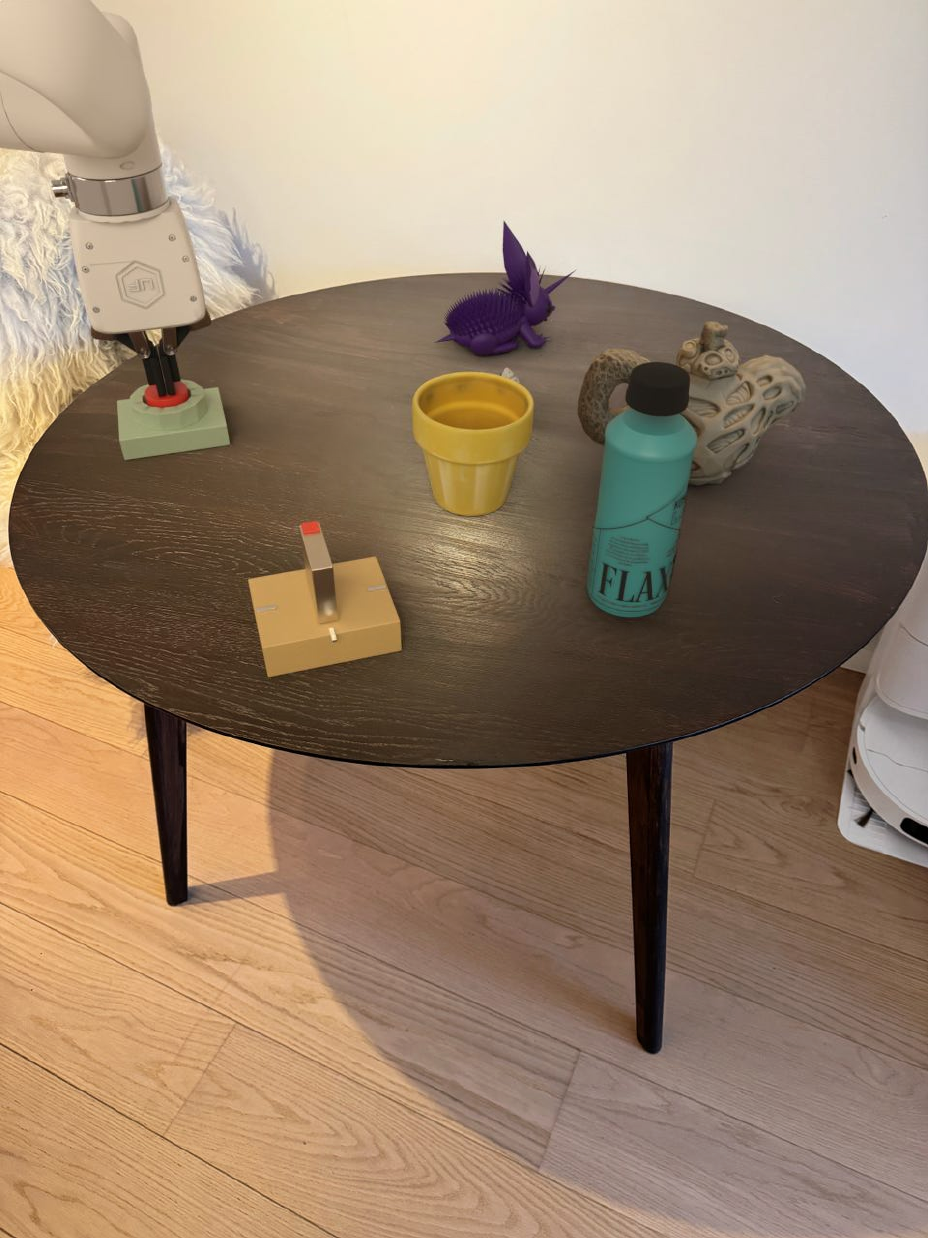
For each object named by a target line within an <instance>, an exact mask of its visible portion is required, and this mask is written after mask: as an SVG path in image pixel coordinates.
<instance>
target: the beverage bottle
mask: <svg viewBox="0 0 928 1238" xmlns="http://www.w3.org/2000/svg"><path fill="white" fill-rule="evenodd" d="M689 389H690V376H689V374H688V372H687V371H686V370H685V369H683V368H681V367H679V366H677V365H676V364H674V363H670V362H664V361H650V362H648V363H643V364H640V365H638V366H636V367H635V368H634V369H633V370H632V372H631V375H630V380H629V384H627V388H626V391H625V403H626V405H627V404H628V405H629V406H630V407H631V408H630V409H628V410H626V411H624V412H622V413H621V414H619V415H618V416H616V417H615V418H613V419H612V420H611V421H610V422H609V423H608V425H607V427H606V431H605V446H604V447H603V457H602V465H601V474H600V483H599V490H598V492H599V493H598V498H597V507H596V515H595V520H594V525H593V526H592V527H591V528H592V529H593V530H591V536H592V537H590V540H589V541H590V544H589V547H590V553H588V555H587V556H588V558H587V568H586V574H585V579H586V581H585V583H584V585H585V586H586V587H585V589H586V591H587V593H588V596H589V599H590V600H591V602H592V603H593V604H594V605H595V606H596V607H598V608H599V609H600V610H602V611H604V612H606V613H607V614H610V615H613V616H616V617H621V618H623V617H624V618H639V617H645V616H647V615H650V614H653V613H655V612H656V611H657V610H658V609H659V608H660V607H661V606H662V604H663V603H664V602H665V600H666V598H667V595H669V593H670V588H671V586H669V585H670V584H671V582H672V580H673V579H672V578H673V575H674V570H675V563H676V559H677V554H678V546H679V543H680V540H681V531H682V528H680V527H681V524H682V523H681V522H682V519H683V517H684V513H685V512H686V510H685V508H686V507H687V506H686V505H687V500H688V498H689V493H690V489H691V485H688V483H690V482H689V480H690V479H689V477H690V474H691V475H692V474H693V473H690V470H691V464H692V459H693V454H694V449H695V448H696V445H697V434H696V432H695V430H694V428H693V427H692V426H691V424H690V423H689V422H688V421H687V420H686V419H685V418H684V417H683V416H682V415H681V414H679V413H681V412H683V411H684V410H686V408H687V407H688V403H689ZM690 478H691V477H690Z"/></svg>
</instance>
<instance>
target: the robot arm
mask: <svg viewBox="0 0 928 1238" xmlns="http://www.w3.org/2000/svg"><path fill="white" fill-rule="evenodd" d="M152 103H153V102H152V96H151V91H150V87H149V84H148V80H147V78H146V75H145V70H144V64H143V58H142V54H141V49H140V45H139V40H138V37H137V34H136V32H135V30H134V28H133V26H132V25H131V24H130V22H129V21H128V20H127V19H125V18H124V17H123V16H121V15H119V14H115V13H112V12H108V11H105V12H104V11H101V10H100V9H99V8H98V7H97V6H96V4H94V3H93V2H92V0H0V149H6V150H13V151H14V150H15V151H24V152H33V153H39V154H40V153H41V154H45V153H50V154H60V155H62V157H63V161H64V165H65V169H66V173H64V177H59V179H51V180H50V184H51V188H52V192H53V195H54V198H55V199H57V198H64V199H65V200H68V199H70V202H71V203H74V205H73V206H72V208H71V209H70V211H69V214H68V224H69V235H70V242H71V243H70V244H71V248H72V255H73V260H74V264H75V270H76V274H77V279H78V283H79V288H80V291H81V297H82V300H83V304H84V308H85V311H86V315H87V318H88V321H89V324H90V336H91V338H92V339H94V340H97V341H109V342H118V343H120V344H122V345H123V346H124V347H126V348H127V349H129V350H131V351H132V352H134V353H136V355H137V357H139V358H140V359H141V360H142V364H143V368H144V372H145V378H146V380H147V384H148V385H149V386H150V385H156V388H157V392H158V396H159V397H163V396H164V395H166V390H165V384H166V389H167V393H168V394H170V395H176V393H175V387H174V382H180V381H181V380H182V378H181V375H180V369H179V366H178V365H179V364H178V361H177V357H176V354H177V352H178V348H179V346H180V345H181V344H182V343H183V342H184V340H185V339H186V338H187V336H189V334H190V333H191V332H196V331H198V330H201V329H204V328H207V327H209V326H211V324H212V318H211V313H210V311H209V309H208V306H207V304H206V298H205V292H204V289H203V288H204V286H203V283H202V278H201V273H200V269H199V265H198V261H197V257H196V253H195V248H194V244H193V240H192V236H191V234H190V230H189V227H188V224H187V221H186V218H185V216H184V213H183V211H182V207H181V206H180V204H179V202H178V200H177V199H176V198H175V197H173V196H171V195H169V191H168V186H167V182H166V181H167V180H166V176H165V171H164V166H163V160H162V155H161V149H160V144H159V141H158V135H157V134H158V133H157V130H156V124H155V120H154V115H153V104H152ZM153 330H154V331H155V330H160V331H161V332H160V334H161V337H160V339H159V340H158V346H155V344H154V342H153V341H152V340H151V339H150V338H149V335H148V333H147V331H153ZM164 380H165V382H164Z"/></svg>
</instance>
